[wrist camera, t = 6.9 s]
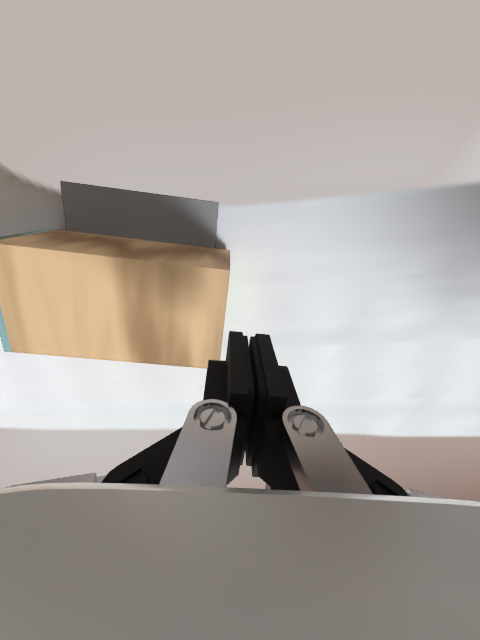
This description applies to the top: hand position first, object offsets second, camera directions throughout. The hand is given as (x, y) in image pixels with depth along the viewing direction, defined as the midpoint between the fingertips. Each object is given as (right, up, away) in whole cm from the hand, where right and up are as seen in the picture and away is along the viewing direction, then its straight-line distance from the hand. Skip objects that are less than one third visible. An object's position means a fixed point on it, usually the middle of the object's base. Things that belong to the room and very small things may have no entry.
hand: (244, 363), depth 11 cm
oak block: (-1, +3, +6) cm, 7 cm away
